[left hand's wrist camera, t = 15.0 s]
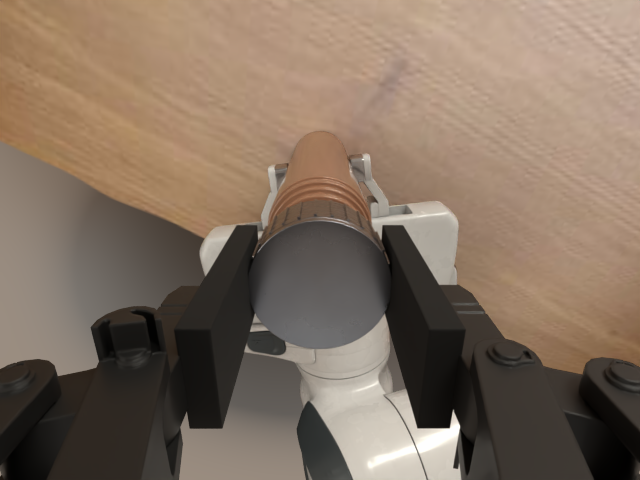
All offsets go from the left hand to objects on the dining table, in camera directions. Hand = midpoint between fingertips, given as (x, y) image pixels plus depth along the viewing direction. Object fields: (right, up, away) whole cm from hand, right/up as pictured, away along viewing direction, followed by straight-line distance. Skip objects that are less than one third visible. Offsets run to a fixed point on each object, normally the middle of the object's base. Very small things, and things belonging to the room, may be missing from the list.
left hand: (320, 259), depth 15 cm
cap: (0, -1, -2) cm, 2 cm away
